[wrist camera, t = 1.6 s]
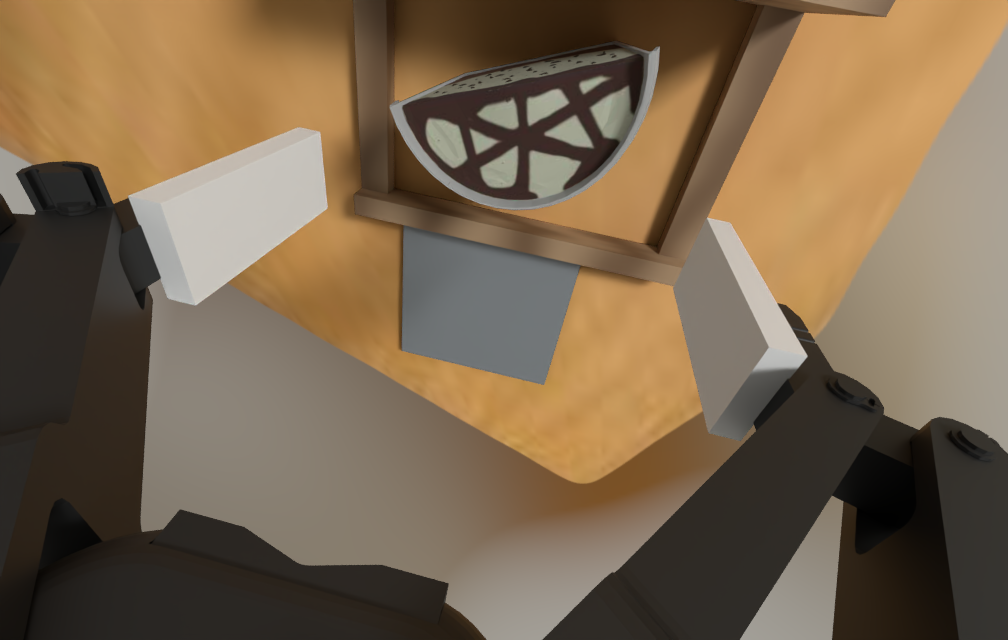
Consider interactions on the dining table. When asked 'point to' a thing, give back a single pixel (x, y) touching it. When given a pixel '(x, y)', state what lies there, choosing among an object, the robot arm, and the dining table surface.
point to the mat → (483, 304)
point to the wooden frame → (716, 153)
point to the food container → (531, 124)
